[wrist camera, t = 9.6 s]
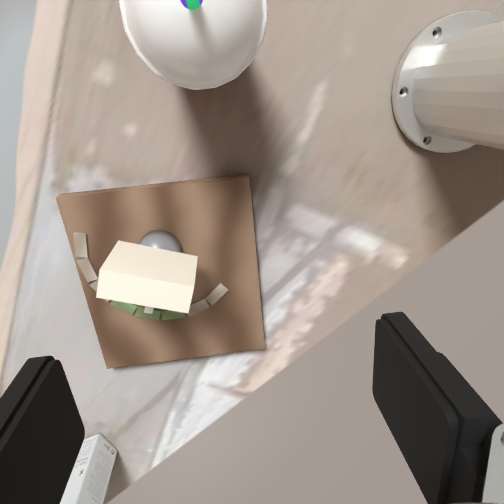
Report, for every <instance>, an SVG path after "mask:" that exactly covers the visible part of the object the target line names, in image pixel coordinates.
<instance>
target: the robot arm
mask: <svg viewBox="0 0 504 504" xmlns="http://www.w3.org/2000/svg"><path fill="white" fill-rule="evenodd" d="M433 31H434V36H433V34H432V33H433ZM400 89H401V90H402V93H401V94H400ZM392 105H393V111H394V115H395V119H396V121H397V123H398V125H399V127H400V129H401V131H402V132H403V133H404V135H405V136H406V137H407V138H408V139H409V140H410V141H411V142H413V143H414V144H415V145H417V146H419V147H421V148H423V149H426V150H429V151H433V152H439V153H452V152H459V151H462V150H465V149H468V148H470V147H472V146H474V145H476V144H479V145H484V146H489V147H493V148H498V149H503V150H504V21H503V20H502V19H500V18H498V17H497V16H495V15H493V14H491V13H487V12H483V11H473V10H467V11H462V12H458V13H454V14H451V15H448V16H445V17H443V18H441V19H439V20H437V21H435V22H433V23H432V24H430V25H429V26H428V27H427V28H425V29H424V30H423V31H422V32H420V33H419V35H418V36H417V37H416V38H415V39H414V40H413V41H412V42H411V43H410V45H409V47H408V48H407V50H406V51H405V53H404V54H403V56H402V58H401V60H400V63H399V65H398V67H397V70H396V74H395V77H394V81H393V89H392ZM424 138H425V140H424V141H423V139H424ZM374 348H375V349H374V367H373V395H374V399H375V401H376V403H377V405H378V407H379V409H380V411H381V413H382V415H383V417H384V419H385V421H386V423H387V425H388V427H389V429H390V430H391V433H392V435H393V436H394V438H395V440H396V442H397V444H398V446H399V448H400V450H401V452H402V454H403V456H404V458H405V460H406V462H407V464H408V466H409V468H410V469H411V472H412V473H413V475H414V477H415V479H416V481H417V483H418V485H419V487H420V489H421V491H422V493H423V495H424V497H425V499H426V501H427V503H428V504H504V424H503V423H502V422H501V420H500V419H499V418H498V417H497V416H496V415H495V414H494V412H493V411H492V410H491V409H490V408H489V407H488V405H487V404H486V403H485V402H484V401H483V400H482V399H481V397H480V396H479V395H478V394H477V393H476V392H475V390H474V389H473V388H472V387H471V386H470V385H469V383H468V382H467V381H466V380H465V379H464V378H463V376H462V375H461V374H460V373H459V372H458V371H457V369H456V368H455V367H454V366H453V365H452V364H451V363H450V361H449V360H448V359H447V358H446V357H445V356H444V355H443V354H442V353H439V352H436V350H435V349H434V348H433V347H432V346H431V344H430V343H429V342H428V341H427V340H426V339H425V337H424V336H423V335H422V334H421V333H420V331H419V330H418V329H417V328H416V327H415V326H414V324H413V323H412V322H411V321H410V320H409V319H408V317H407V316H406V315H405V314H404V313H403V312H395V313H387V314H383V315H382V316H381V319H378V320H377V321H376V327H375V347H374ZM84 436H85V430H84V426H83V423H82V420H81V417H80V414H79V412H78V409H77V406H76V403H75V400H74V398H73V395H72V392H71V389H70V386H69V384H68V381H67V378H66V375H65V372H64V370H63V367H62V364H61V362H60V361H59V360H55V359H54V358H53V357H52V356H43V357H35V358H30V359H28V360H27V361H26V362H25V364H24V365H23V367H22V368H21V370H20V371H19V372H18V374H17V375H16V377H15V378H14V380H13V381H12V382H11V384H10V385H9V387H8V388H7V390H6V391H5V393H4V394H3V395H2V397H1V398H0V504H60V502H61V499H62V497H63V494H64V491H65V489H66V486H67V483H68V481H69V478H70V475H71V473H72V470H73V467H74V465H75V462H76V460H77V457H78V454H79V452H80V449H81V446H82V444H83V441H84Z"/></svg>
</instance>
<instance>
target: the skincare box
mask: <svg viewBox="0 0 504 504" xmlns="http://www.w3.org/2000/svg"><path fill="white" fill-rule="evenodd" d="M116 454H117V450H116V449H115V448H114V447H113V446H112V444H111V443H109V442H108V440H106V438H104V437H103V436H102V435H101V434H96V435H94V436H91V437H89V438H87V439H84V441H83V444H82V446H81V449H80V452H79V454H78V457H77V460H76V462H75V465H74V467H73V470H72V473H71V475H70V478H69V481H68V483H67V486H66V489H65V491H64V494H63V497H62V499H61V502H60V504H103V502H104V499H105V495H106V491H107V487H108V484H109V480H110V476H111V473H112V469H113V465H114V462H115V458H116Z"/></svg>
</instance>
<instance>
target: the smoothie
mask: <svg viewBox="0 0 504 504" xmlns="http://www.w3.org/2000/svg"><path fill="white" fill-rule="evenodd" d="M119 5H120V10H121V16H122V21H123V26H124V31H125V33H126V35H127V37H128V39H129V41H130V43H131V45H132V47H133V49H134V51H135V53H136V54H137V55H138V57H139V58H140V59H141V60H142V61H143V62H144V63H145V64H146V66H147V67H148V68H149V69H150V70H151V71H152V72H153V73H154V74H156V75H158V76H159V77H161V78H162V79H164V80H166V81H167V82H169V83H171V84H172V85H175V86H180V87H184V88H188V89H192V90H201V89H210V88H217V87H219V86H221V85H223V84H225V83H227V82H230V81H232V80H234V79H236V78H237V77H238V76H239V75H240V74H241V73H242V72H243V71H244V70H245V69H246V68H247V67H248V66H249V65H250V64H251V63H252V61H253V59H254V57H255V56H256V54H257V52H258V50H259V48H260V46H261V44H262V43H263V39H264V34H265V29H266V24H267V19H268V10H267V0H119Z"/></svg>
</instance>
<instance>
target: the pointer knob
mask: <svg viewBox="0 0 504 504" xmlns="http://www.w3.org/2000/svg"><path fill="white" fill-rule="evenodd" d="M181 252H182V248H181V244H180V242H179V240H178V239H177V237H176V236H175V235H173V234H172V233H170V232H168V231H165V230H153V231H150V232H148V233H147V234H145V235H144V236H143V237H142V239H141V240H140V242H139V244H134V243H129V242H124V241H119V240H118V242H117V243H116V245H115V246H114V248H113V250H112V251H111V253H110V254H109V256H108V257H107V259H106V260H105V262H104V263H103V265H102V267H101V268H100V270H99V278H98V286H97V294H96V298H102V299H108V300H114V301H119V302H125V303H131V304H137V305H142V306H145V310H144V313H150V314H152V313H153V309H154V308H160V309H166V310H171V311H177V312H183V313H188V312H189V308H190V304H191V299H192V295H193V291H194V285H195V276H196V267H197V258H198V256H194V255H189V254H184V253H181Z"/></svg>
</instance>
